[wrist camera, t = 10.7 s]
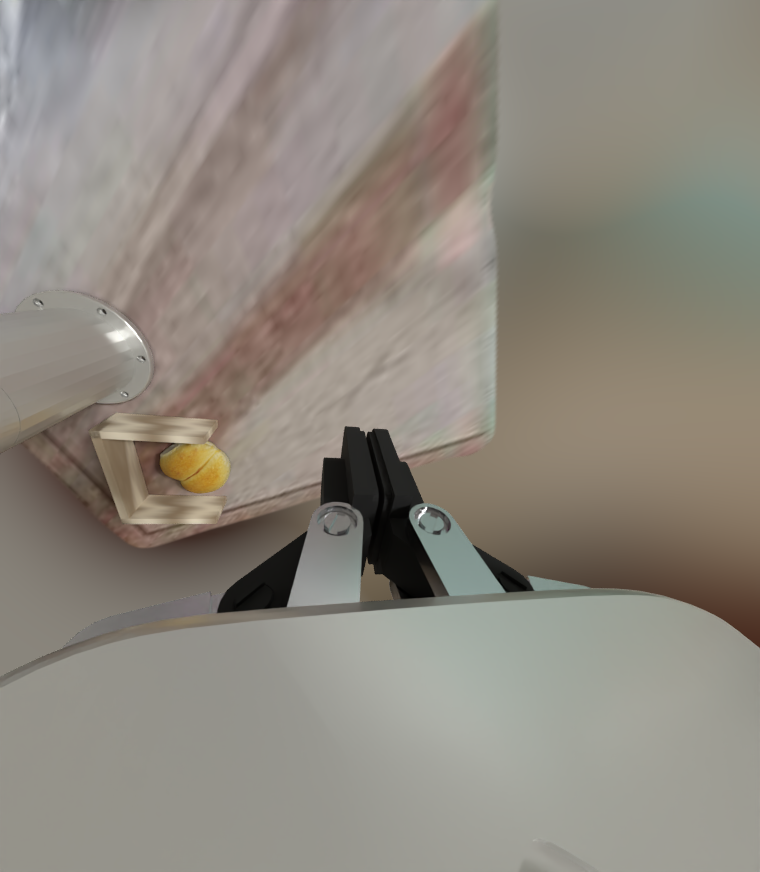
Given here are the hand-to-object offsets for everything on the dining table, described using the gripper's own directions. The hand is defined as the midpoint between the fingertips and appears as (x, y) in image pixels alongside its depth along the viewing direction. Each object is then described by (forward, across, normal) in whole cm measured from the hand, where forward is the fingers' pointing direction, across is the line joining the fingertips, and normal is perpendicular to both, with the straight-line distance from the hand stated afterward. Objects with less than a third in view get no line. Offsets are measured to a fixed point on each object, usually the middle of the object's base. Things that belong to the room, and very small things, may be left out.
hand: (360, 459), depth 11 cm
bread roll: (+30, +19, +21) cm, 41 cm away
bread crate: (+29, +21, +22) cm, 42 cm away
